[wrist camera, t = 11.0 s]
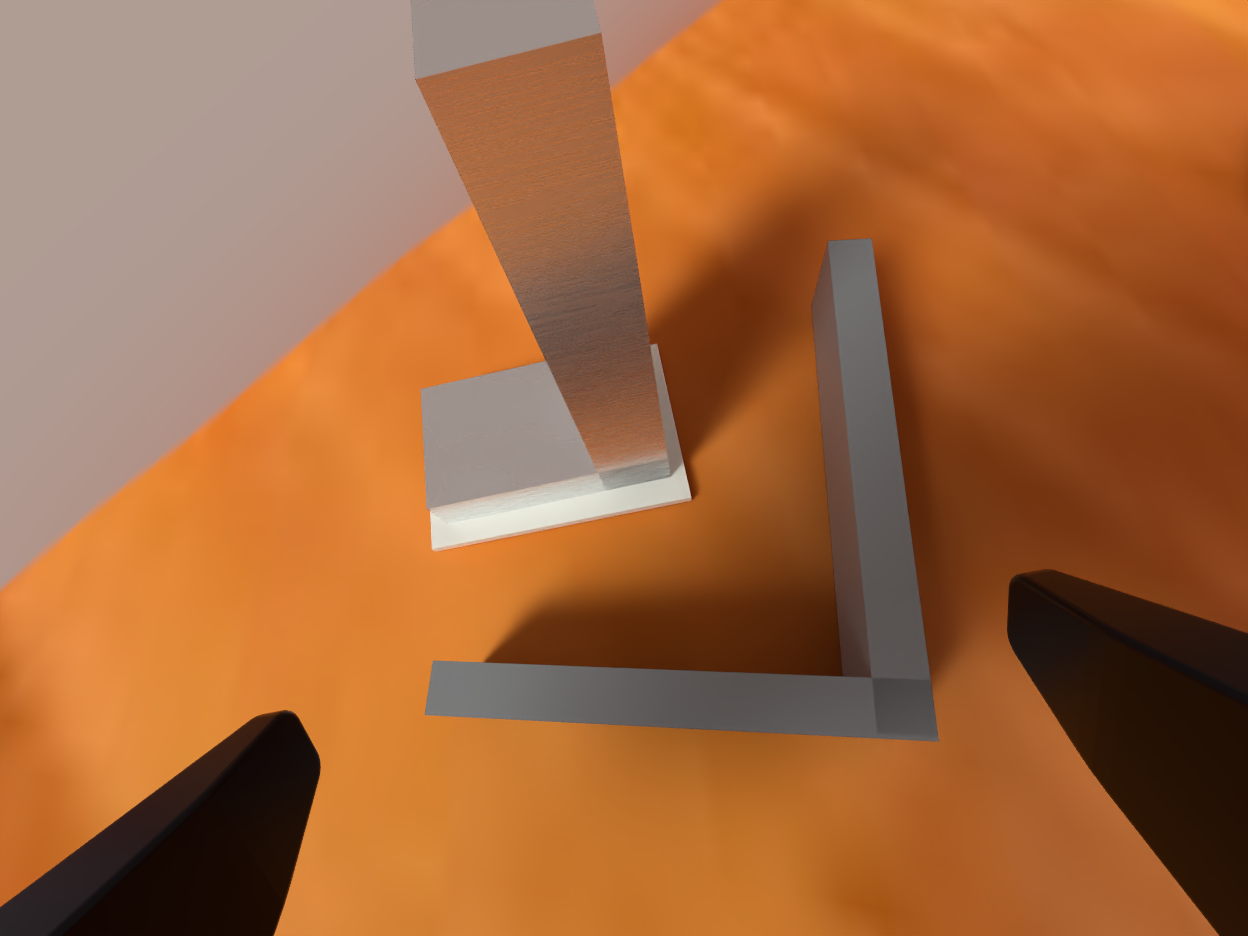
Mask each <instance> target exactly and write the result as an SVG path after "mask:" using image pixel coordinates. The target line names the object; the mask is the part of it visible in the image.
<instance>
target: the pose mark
mask: <svg viewBox="0 0 1248 936" xmlns="http://www.w3.org/2000/svg"><path fill="white" fill-rule="evenodd" d="M650 347H651V354H652V360H653V366H654V373H655V379H656V385H657V392H658V398H659V405H660V411H661V417H662V424H663V430H664V437H665V443H666V449H667V456H668V462H669V468H670V475H671V477H669V478H664V479H659V480H654V481H650V482H645V483H640V484H636V485H631V486H626V487H621V488H617V489H612V490H607V491H602V492H598V493H593V494H588V495H583V496H579V497H574V498H569V499H564V500H560V501H555V502H550V503H546V504H541V505H536V506H531V507H527V508H522V509H517V510H512V511H508V512H503V513H498V514H493V515H489V516H484V517H479V518H475V519H470V520H465V521H460V522H456V523H451V524H447V523H445V522H444V521H443V520H441V519H440V518H438V517H437V516H436V515H434V514H433V513H431V512H430V514H431V537H432V549H433V550H434V551H441V550H446V549H451V548H456V547H462V546H467V545H472V544H477V543H482V542H487V541H492V540H497V539H502V538H507V537H512V536H517V535H522V534H527V533H532V532H537V531H542V530H547V529H552V528H557V527H562V526H567V525H572V524H577V523H582V522H587V521H592V520H597V519H602V518H607V517H612V516H617V515H622V514H627V513H632V512H637V511H642V510H647V509H652V508H657V507H662V506H667V505H672V504H677V503H682V502H687V501H691V494H690V490H689V485H688V481H687V476H686V472H685V467H684V463H683V458H682V454H681V449H680V445H679V440H678V436H677V431H676V427H675V422H674V418H673V413H672V409H671V404H670V400H669V395H668V391H667V386H666V382H665V377H664V373H663V368H662V364H661V359H660V355H659V350H658V346H657V344H653V345H650Z"/></svg>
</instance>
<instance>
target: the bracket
mask: <svg viewBox="0 0 1248 936" xmlns="http://www.w3.org/2000/svg"><path fill="white" fill-rule="evenodd" d="M411 14H412V32H413V48H414V64H415V80H416V82H417V84H418V86H419V88H420V90H421V93H422V95H423V97H424V99H425V101H426V103H427V106H428V107H429V110H430V112H431V114H432V116H433V118H434V120H435V123H436V125H437V127H438V129H439V131H440V134H441V136H442V138H443V140H444V142H445V144H446V146H447V149H448V151H449V153H450V155H451V157H452V159H453V162H454V164H455V166H456V168H457V170H458V172H459V174H460V176H461V179H462V181H463V183H464V185H465V187H466V189H467V192H468V194H469V196H470V198H471V200H472V202H473V205H474V207H475V209H476V211H477V213H478V215H479V218H480V220H481V222H482V224H483V226H484V228H485V231H486V233H487V235H488V237H489V239H490V241H491V243H492V246H493V248H494V250H495V252H496V254H497V256H498V259H499V261H500V263H501V265H502V267H503V269H504V271H505V274H506V276H507V278H508V280H509V282H510V284H511V287H512V289H513V291H514V293H515V295H516V297H517V299H518V302H519V304H520V306H521V308H522V310H523V312H524V315H525V317H526V319H527V321H528V323H529V325H530V328H531V330H532V332H533V334H534V336H535V338H536V340H537V343H538V345H539V347H540V349H541V351H542V353H543V356H544V358H545V360H546V361H544V362H540V363H535V364H531V365H526V366H522V367H517V368H513V369H508V370H504V371H499V372H495V373H490V374H486V375H482V376H477V377H473V378H468V379H464V380H459V381H455V382H450V383H446V384H441V385H437V386H432V387H428V388H423V389H421V402H422V422H423V442H424V461H425V481H426V501H427V510H429V511H430V512H431V513H433V514H434V515H436V516H437V517H438V518H440V519H441V520H443V521H444V522H445V523H447V524H451V523H456V522H460V521H465V520H470V519H475V518H479V517H484V516H489V515H493V514H498V513H503V512H508V511H512V510H517V509H522V508H527V507H531V506H536V505H541V504H546V503H550V502H555V501H560V500H564V499H569V498H574V497H579V496H583V495H588V494H593V493H598V492H602V491H607V490H612V489H617V488H621V487H626V486H631V485H636V484H640V483H645V482H650V481H654V480H659V479H664V478H669V477H671V475H670V468H669V462H668V456H667V449H666V443H665V437H664V430H663V424H662V417H661V411H660V405H659V398H658V392H657V385H656V379H655V373H654V366H653V360H652V354H651V347H650V341H649V334H648V328H647V322H646V315H645V309H644V303H643V296H642V290H641V283H640V277H639V271H638V264H637V258H636V251H635V245H634V239H633V232H632V226H631V220H630V213H629V207H628V200H627V194H626V188H625V181H624V175H623V169H622V162H621V156H620V149H619V143H618V137H617V130H616V124H615V117H614V111H613V105H612V98H611V92H610V86H609V80H608V73H607V67H606V60H605V54H604V47H603V41H602V35H601V30H600V26H599V22H598V18H597V14H596V10H595V6H594V2H593V0H411Z"/></svg>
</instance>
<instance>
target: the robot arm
mask: <svg viewBox="0 0 1248 936" xmlns="http://www.w3.org/2000/svg"><path fill="white" fill-rule="evenodd" d="M1007 633H1008V639H1009V642H1010V645H1011V647H1012V649H1013V651H1014V653H1015V654H1016V656H1017V657H1018V659H1019V661H1020V662H1021V664H1022V665H1023V667H1024V668H1025V670H1026V671H1027V673H1028V675H1029V676H1030V678H1031V679H1032V681H1033V682H1034V684H1035V686H1036V687H1037V689H1038V690H1039V692H1040V693H1041V695H1042V696H1043V698H1044V700H1045V701H1046V703H1047V704H1048V706H1049V707H1050V709H1051V711H1052V712H1053V714H1054V715H1055V717H1056V718H1057V720H1058V721H1059V723H1060V725H1061V726H1062V728H1063V729H1064V731H1065V732H1066V734H1067V736H1068V737H1069V739H1070V740H1071V742H1072V743H1073V745H1074V746H1075V748H1076V750H1077V751H1078V753H1079V754H1080V755H1081V757H1082V758H1083V760H1084V761H1085V763H1086V764H1087V766H1088V767H1089V769H1090V770H1091V772H1092V773H1093V774H1094V776H1095V777H1096V778H1097V780H1098V781H1099V782H1100V784H1101V785H1102V786H1103V788H1104V789H1105V790H1106V792H1107V793H1108V794H1109V795H1110V797H1111V798H1112V799H1113V800H1114V802H1115V803H1116V804H1117V806H1118V807H1119V808H1120V809H1121V811H1122V812H1123V813H1124V815H1125V816H1126V817H1127V818H1128V820H1129V821H1130V822H1131V823H1132V825H1133V826H1134V827H1135V829H1136V830H1137V831H1138V832H1139V834H1140V835H1141V836H1142V837H1143V839H1144V840H1145V841H1146V843H1147V844H1148V845H1149V846H1150V848H1151V849H1152V850H1153V852H1154V853H1155V854H1156V855H1157V857H1158V858H1159V859H1160V860H1161V862H1162V863H1163V864H1164V866H1165V867H1166V868H1167V869H1168V871H1169V872H1170V873H1171V875H1172V876H1173V877H1174V878H1175V880H1176V881H1177V882H1178V883H1179V885H1180V886H1181V887H1182V889H1183V890H1184V891H1185V892H1186V894H1187V895H1188V896H1189V898H1190V899H1191V900H1192V901H1193V903H1194V904H1195V905H1196V906H1197V908H1198V909H1199V910H1200V912H1201V913H1202V914H1203V915H1204V917H1205V918H1206V919H1207V920H1208V922H1209V923H1210V924H1211V926H1212V927H1213V928H1214V929H1215V931H1216V932H1217V933H1218V935H1219V936H1248V633H1246V632H1243V631H1239V630H1236V629H1233V628H1230V627H1227V626H1224V625H1221V624H1218V623H1215V622H1212V621H1209V620H1206V619H1203V618H1200V617H1197V616H1193V615H1190V614H1187V613H1184V612H1181V611H1178V610H1175V609H1172V608H1169V607H1166V606H1163V605H1160V604H1157V603H1154V602H1151V601H1148V600H1144V599H1141V598H1138V597H1135V596H1132V595H1129V594H1126V593H1123V592H1120V591H1117V590H1114V589H1111V588H1108V587H1105V586H1102V585H1099V584H1095V583H1092V582H1089V581H1086V580H1083V579H1080V578H1077V577H1074V576H1071V575H1068V574H1065V573H1062V572H1059V571H1056V570H1052V569H1043V570H1038V571H1032V572H1027V573H1022V574H1018V575H1016V576H1014V577H1013V578H1012V579H1011V581H1010V584H1009V597H1008V620H1007ZM320 768H321V766H320V758H319V755H318V752H317V751H316V749H315V747H314V745H313V743H312V741H311V740H310V738H309V736H308V734H307V732H306V730H305V729H304V727H303V725H302V723H301V721H300V719H299V718H298V716H297V715H296V714H295V713H293V712H292V711H288V710H283V711H278V712H272V713H267V714H262V715H259V716H256V717H254V718H253V719H251V720H250V721H249V722H247V723H246V724H245V725H243V726H242V727H241V728H239V729H238V730H237V731H235V732H234V733H233V734H231V735H230V736H229V737H227V738H226V739H224V740H223V741H222V742H220V743H219V744H218V745H216V746H215V747H214V748H212V749H211V750H210V751H208V752H207V753H206V754H204V755H203V756H202V757H200V758H199V759H198V760H196V761H195V762H194V763H192V764H191V765H190V766H188V767H187V768H186V769H184V770H183V771H182V772H180V773H179V774H178V775H176V776H175V777H174V778H172V779H171V780H170V781H168V782H167V783H166V784H164V785H163V786H162V787H160V788H159V789H158V790H156V791H155V792H154V793H152V794H151V795H150V796H148V797H147V798H146V799H144V800H143V801H142V802H140V803H139V804H138V805H136V806H135V807H134V808H132V809H131V810H130V811H128V812H127V813H126V814H124V815H123V816H122V817H120V818H119V819H118V820H116V821H115V822H114V823H112V824H111V825H110V826H108V827H107V828H106V829H104V830H103V831H102V832H100V833H99V834H97V835H96V836H95V837H93V838H92V839H91V840H89V841H88V842H87V843H85V844H84V845H83V846H81V847H80V848H79V849H77V850H76V851H75V852H73V853H72V854H71V855H69V856H68V857H67V858H65V859H64V860H63V861H61V862H60V863H59V864H57V865H56V866H55V867H53V868H52V869H51V870H49V871H48V872H47V873H45V874H44V875H43V876H41V877H40V878H39V879H37V880H36V881H35V882H33V883H32V884H31V885H29V886H28V887H27V888H25V889H24V890H23V891H21V892H20V893H19V894H17V895H16V896H15V897H13V898H12V899H11V900H9V901H8V902H7V903H5V904H4V905H3V906H1V907H0V936H274V933H275V931H276V928H277V925H278V922H279V919H280V916H281V913H282V910H283V907H284V904H285V901H286V897H287V894H288V891H289V887H290V884H291V881H292V877H293V873H294V870H295V866H296V862H297V858H298V855H299V851H300V847H301V844H302V840H303V836H304V832H305V829H306V825H307V821H308V818H309V814H310V810H311V806H312V803H313V799H314V795H315V792H316V788H317V784H318V781H319V776H320Z"/></svg>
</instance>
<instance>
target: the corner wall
mask: <svg viewBox="0 0 1248 936" xmlns="http://www.w3.org/2000/svg"><path fill="white" fill-rule="evenodd" d="M812 317H813V329H814V341H815V353H816V365H817V377H818V389H819V401H820V413H821V425H822V437H823V449H824V461H825V473H826V485H827V497H828V509H829V521H830V533H831V545H832V557H833V569H834V581H835V593H836V605H837V617H838V629H839V641H840V653H841V665H842V676H816V675H790V674H765V673H739V672H713V671H687V670H662V669H636V668H610V667H584V666H558V665H533V664H507V663H481V662H455V661H433V664H432V671H431V677H430V684H429V690H428V697H427V704H426V710H425V715H435V716H454V717H474V718H493V719H513V720H532V721H551V722H571V723H590V724H609V725H629V726H648V727H667V728H687V729H706V730H726V731H745V732H764V733H784V734H803V735H822V736H842V737H861V738H880V739H900V740H919V741H939V739H938V731H937V724H936V716H935V709H934V701H933V694H932V686H931V679H930V671H929V664H928V656H927V649H926V641H925V634H924V626H923V619H922V611H921V604H920V596H919V589H918V581H917V574H916V567H915V559H914V552H913V544H912V537H911V529H910V522H909V514H908V507H907V499H906V492H905V484H904V477H903V469H902V462H901V454H900V447H899V439H898V432H897V424H896V417H895V409H894V402H893V394H892V387H891V379H890V372H889V364H888V357H887V349H886V342H885V334H884V327H883V320H882V312H881V305H880V297H879V290H878V282H877V275H876V267H875V260H874V252H873V245H872V239H854V240H835V241H828V243H827V247H826V251H825V255H824V259H823V262H822V266H821V270H820V274H819V278H818V282H817V286H816V289H815V293H814V297H813V301H812Z"/></svg>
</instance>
